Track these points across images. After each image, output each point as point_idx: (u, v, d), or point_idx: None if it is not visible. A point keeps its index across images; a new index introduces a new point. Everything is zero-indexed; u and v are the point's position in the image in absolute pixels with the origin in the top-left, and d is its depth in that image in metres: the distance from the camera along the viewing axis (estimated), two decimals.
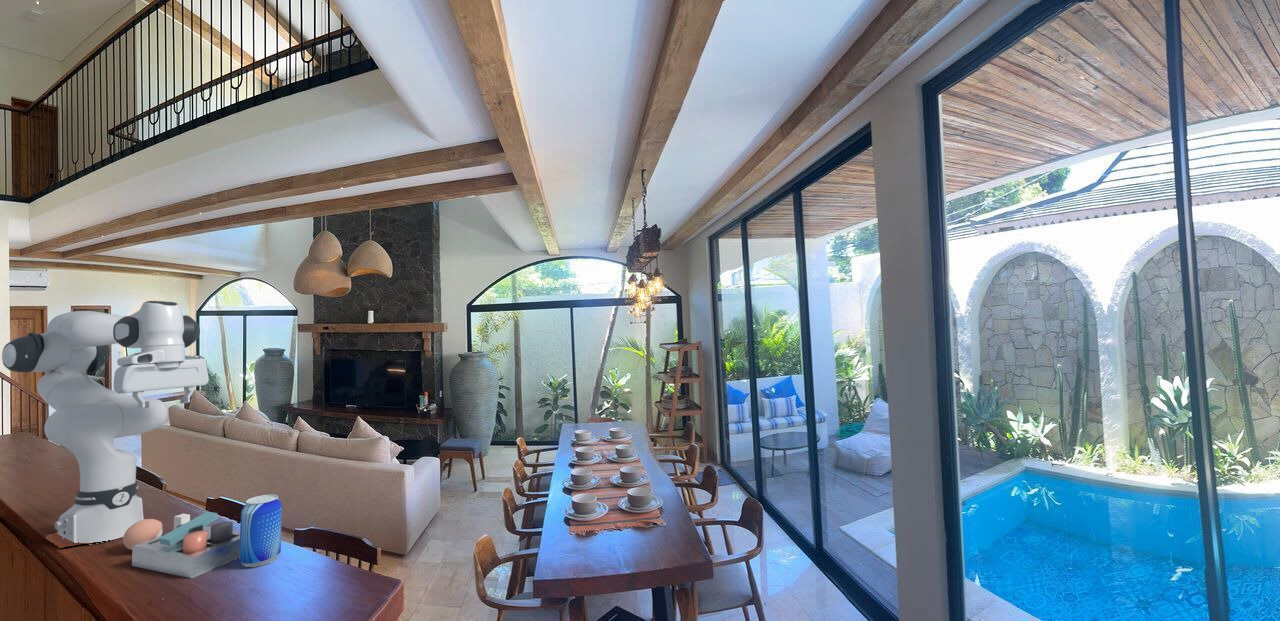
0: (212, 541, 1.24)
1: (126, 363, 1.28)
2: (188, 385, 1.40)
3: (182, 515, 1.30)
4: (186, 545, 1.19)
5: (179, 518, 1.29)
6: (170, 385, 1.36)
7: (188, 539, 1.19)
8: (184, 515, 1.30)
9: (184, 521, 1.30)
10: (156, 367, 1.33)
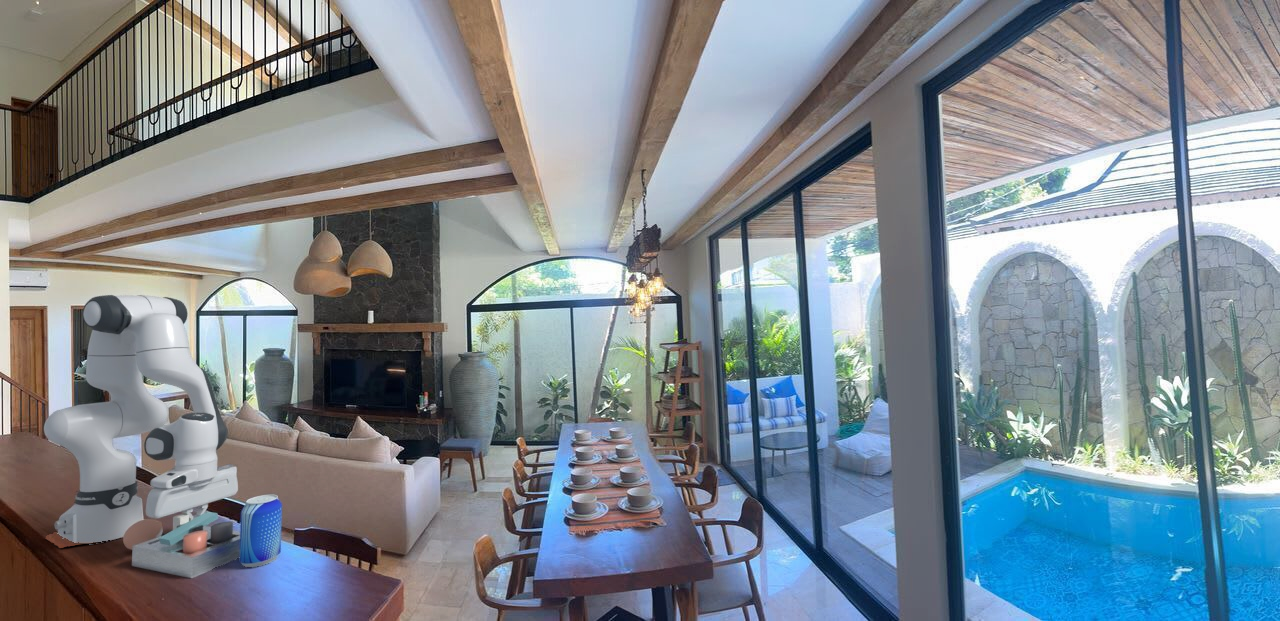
0: (212, 541, 1.24)
1: (160, 487, 1.25)
2: (218, 499, 1.37)
3: (181, 516, 1.30)
4: (186, 545, 1.19)
5: (178, 519, 1.29)
6: (201, 502, 1.33)
7: (188, 539, 1.19)
8: (183, 515, 1.30)
9: (183, 521, 1.29)
10: (189, 486, 1.30)
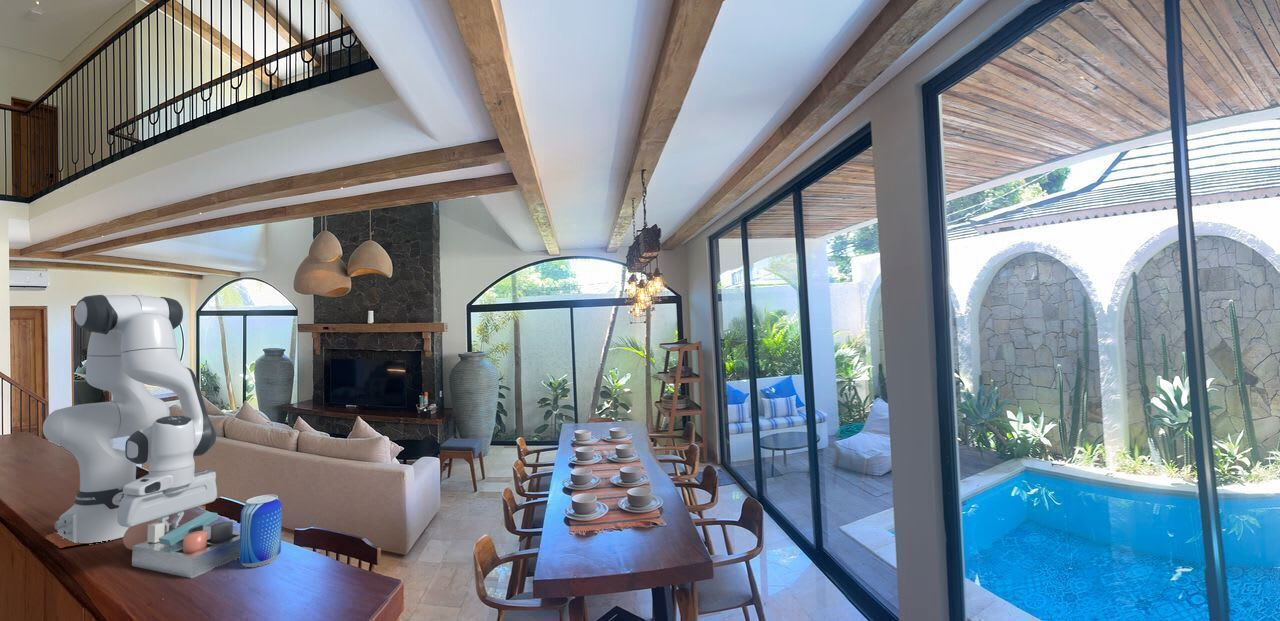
0: (212, 541, 1.24)
1: (132, 494, 1.20)
2: (195, 505, 1.32)
3: (156, 523, 1.25)
4: (186, 545, 1.19)
5: (153, 527, 1.24)
6: (177, 509, 1.28)
7: (188, 539, 1.19)
8: (158, 523, 1.25)
9: (158, 529, 1.24)
10: (163, 493, 1.25)
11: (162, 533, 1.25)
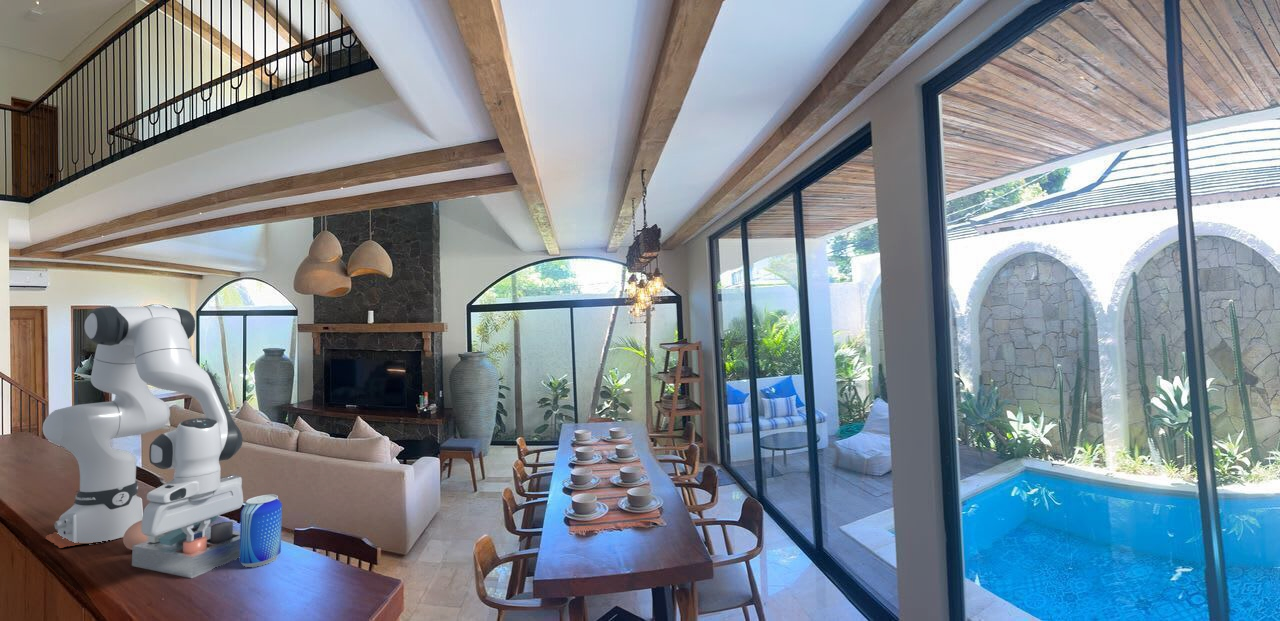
0: (212, 541, 1.24)
1: (157, 501, 1.13)
2: (221, 513, 1.25)
3: None
4: (186, 550, 1.19)
5: None
6: (202, 517, 1.21)
7: (187, 544, 1.19)
8: None
9: None
10: (189, 500, 1.18)
11: None
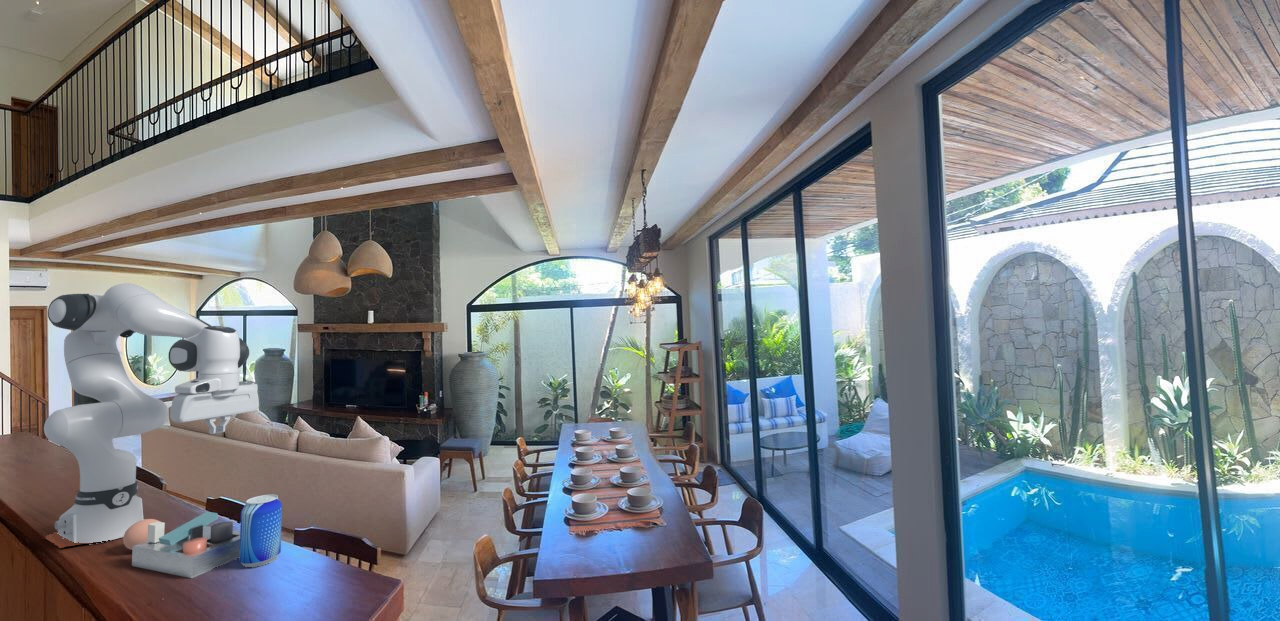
0: (212, 541, 1.24)
1: (184, 392, 1.27)
2: (240, 412, 1.39)
3: (156, 523, 1.25)
4: (186, 552, 1.19)
5: (153, 527, 1.24)
6: (223, 413, 1.35)
7: (187, 546, 1.19)
8: (158, 523, 1.25)
9: (158, 529, 1.24)
10: (212, 395, 1.32)
11: (162, 533, 1.25)
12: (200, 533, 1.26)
